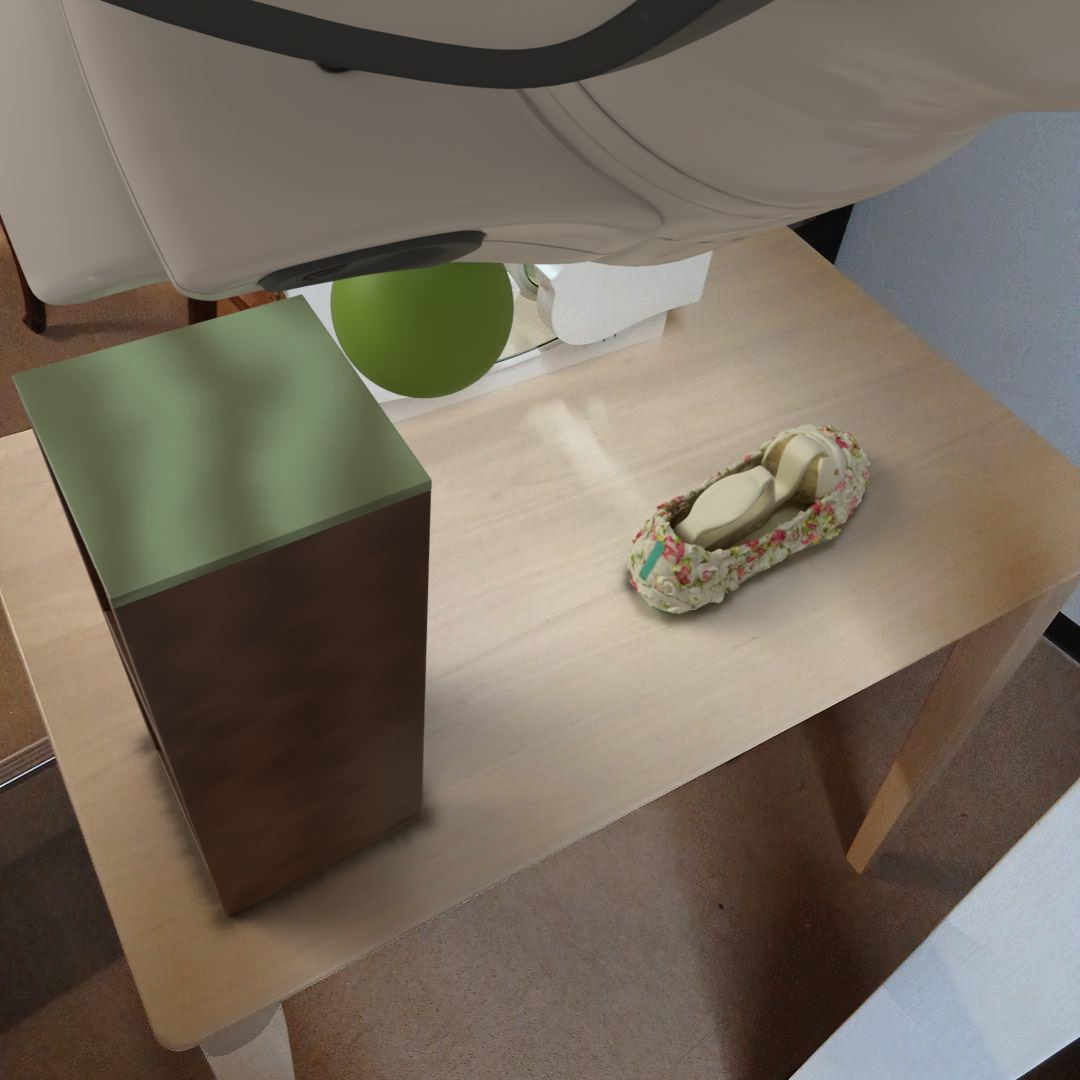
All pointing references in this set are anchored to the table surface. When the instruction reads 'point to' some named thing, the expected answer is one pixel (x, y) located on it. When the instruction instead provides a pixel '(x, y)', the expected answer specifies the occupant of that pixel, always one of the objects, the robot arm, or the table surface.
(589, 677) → the table surface
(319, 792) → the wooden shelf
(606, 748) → the table surface
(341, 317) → the snail figurine
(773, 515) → the ballet flat
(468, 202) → the robot arm
